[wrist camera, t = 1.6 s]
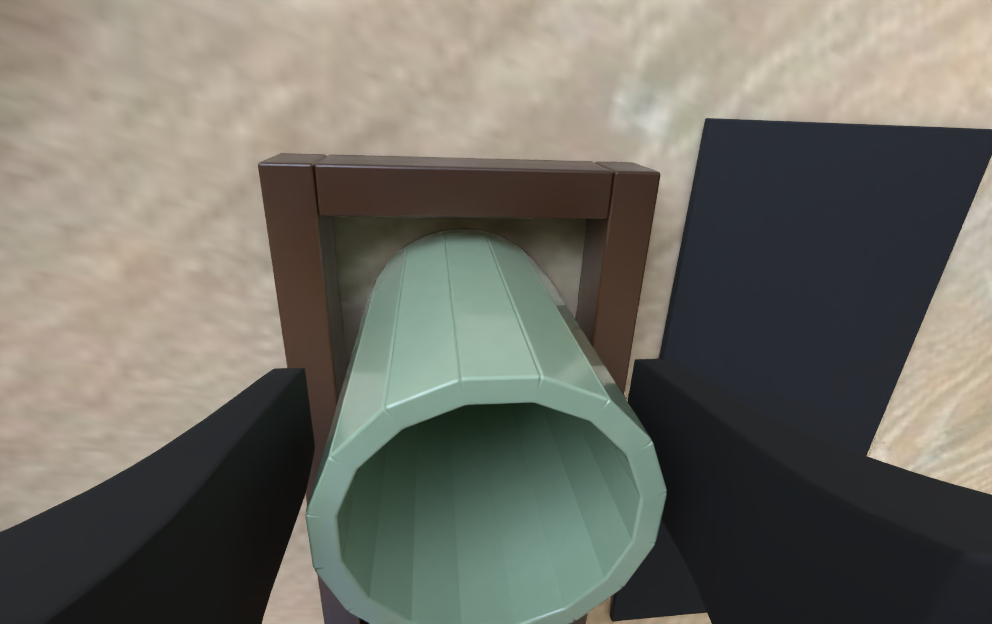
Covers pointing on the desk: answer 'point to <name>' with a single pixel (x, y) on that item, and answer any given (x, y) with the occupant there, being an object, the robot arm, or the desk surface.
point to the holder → (444, 194)
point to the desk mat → (807, 282)
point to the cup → (479, 450)
